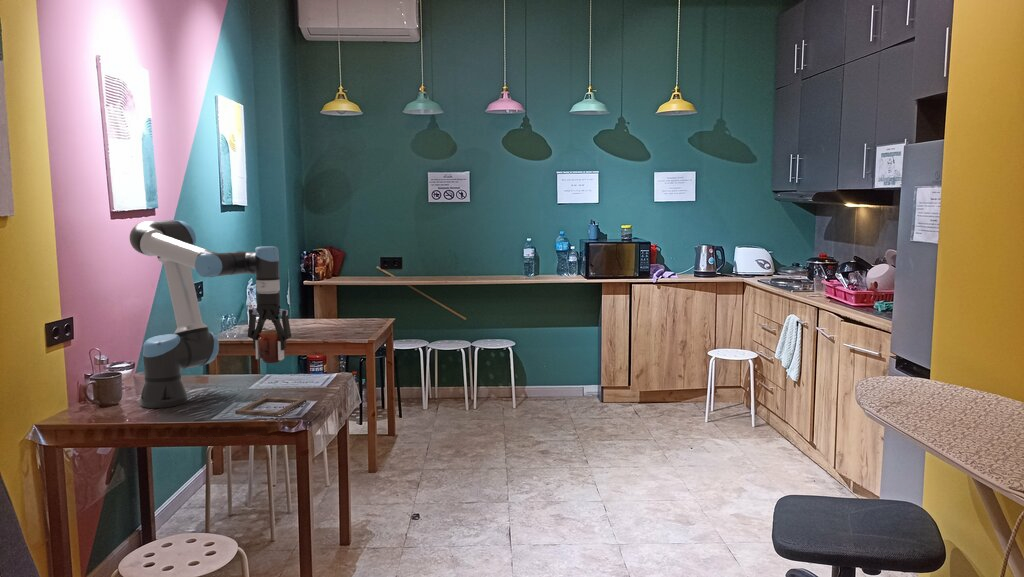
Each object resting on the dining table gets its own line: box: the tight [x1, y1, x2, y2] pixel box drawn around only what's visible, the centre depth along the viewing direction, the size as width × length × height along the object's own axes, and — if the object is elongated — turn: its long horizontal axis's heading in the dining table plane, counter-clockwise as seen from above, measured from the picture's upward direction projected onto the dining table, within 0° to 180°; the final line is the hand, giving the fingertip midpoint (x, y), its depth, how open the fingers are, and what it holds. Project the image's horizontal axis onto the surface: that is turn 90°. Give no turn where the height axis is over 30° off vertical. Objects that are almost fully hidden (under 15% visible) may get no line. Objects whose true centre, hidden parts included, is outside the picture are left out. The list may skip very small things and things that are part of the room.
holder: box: [234, 396, 307, 417], centre depth 258 cm, size 16×19×1 cm
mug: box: [258, 329, 284, 364], centre depth 256 cm, size 12×9×10 cm
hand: (270, 358), depth 256 cm, fingers closed on mug, 7 cm apart
